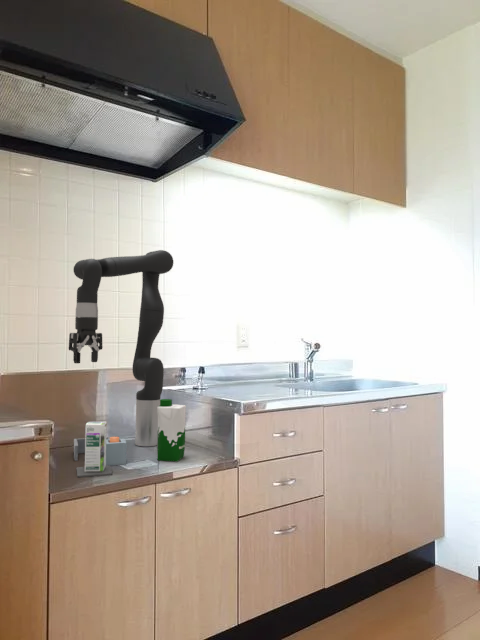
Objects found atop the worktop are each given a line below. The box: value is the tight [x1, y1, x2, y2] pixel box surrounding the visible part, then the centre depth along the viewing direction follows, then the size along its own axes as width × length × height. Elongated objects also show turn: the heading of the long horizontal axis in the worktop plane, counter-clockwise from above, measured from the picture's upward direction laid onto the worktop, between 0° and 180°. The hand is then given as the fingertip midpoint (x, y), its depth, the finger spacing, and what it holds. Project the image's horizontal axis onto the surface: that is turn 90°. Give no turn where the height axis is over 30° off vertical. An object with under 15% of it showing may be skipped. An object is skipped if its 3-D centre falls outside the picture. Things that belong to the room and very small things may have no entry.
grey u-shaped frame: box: [73, 436, 111, 462], centre depth 181 cm, size 12×12×5 cm
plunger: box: [109, 436, 120, 443], centre depth 172 cm, size 3×3×6 cm
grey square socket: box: [106, 438, 128, 466], centre depth 172 cm, size 7×7×7 cm
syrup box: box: [84, 421, 108, 472], centre depth 161 cm, size 6×6×14 cm
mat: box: [76, 465, 113, 478], centre depth 160 cm, size 10×10×1 cm
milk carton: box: [156, 398, 187, 463], centre depth 178 cm, size 9×9×20 cm
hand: (85, 362), depth 182 cm, fingers open, 8 cm apart
